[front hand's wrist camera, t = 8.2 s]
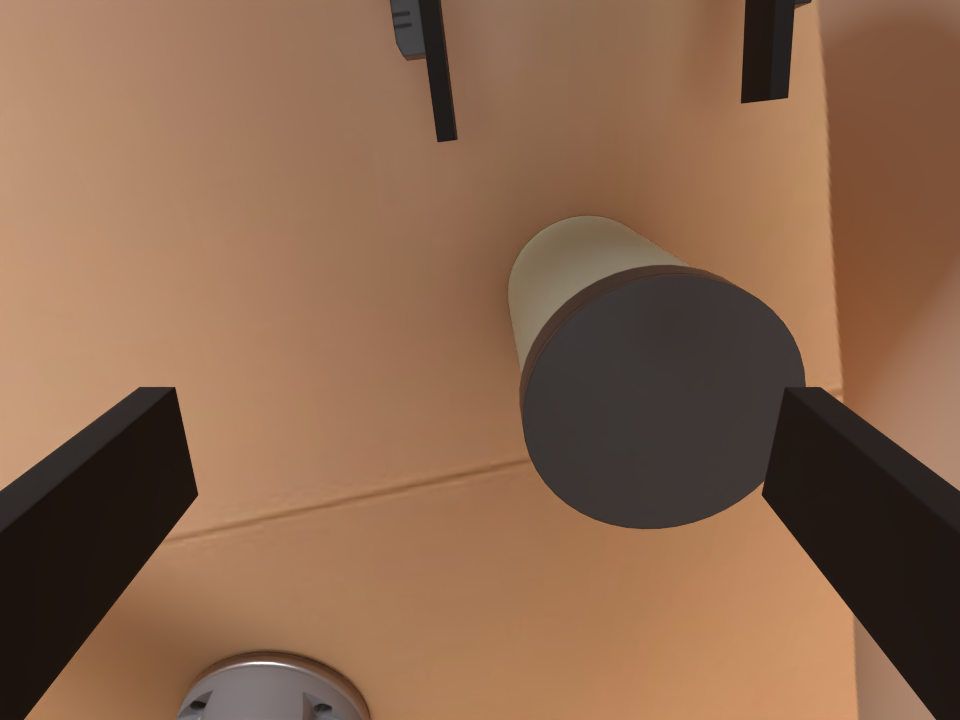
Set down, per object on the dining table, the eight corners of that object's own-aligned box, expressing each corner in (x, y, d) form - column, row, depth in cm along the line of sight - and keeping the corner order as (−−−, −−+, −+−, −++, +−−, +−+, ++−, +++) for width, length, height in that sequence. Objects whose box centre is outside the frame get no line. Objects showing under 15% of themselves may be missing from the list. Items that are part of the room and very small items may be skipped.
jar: (534, 380, 37) (572, 544, 22) (486, 247, 33) (492, 335, 19) (673, 333, 35) (809, 474, 21) (636, 192, 32) (767, 239, 18)
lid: (563, 529, 23) (569, 559, 22) (482, 319, 20) (482, 335, 18) (799, 458, 22) (824, 484, 20) (754, 223, 19) (780, 231, 17)
